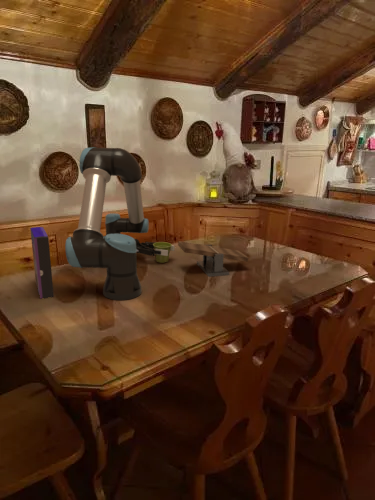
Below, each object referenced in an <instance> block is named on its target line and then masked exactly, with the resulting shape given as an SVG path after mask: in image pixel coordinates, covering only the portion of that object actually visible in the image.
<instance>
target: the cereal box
mask: <svg viewBox="0 0 375 500" xmlns="http://www.w3.org/2000/svg"><path fill="white" fill-rule="evenodd" d="M29 229H30V230H29V231H30V240H31V246H32V247H31V249H32V250H31V251H32V257H33V258H32V259H33V267H34V276H35V278H34V279H35V284H36V288H38V289H37V291H38V296H39V295H40V296H39V299H40V300H43V299H42V298H44V299H49V298H48V297H51V298H54V286H53V284H54V283H53V275H52V274H53V273H52V262H51V251H50V240H49V239H50V238H49V236H48V234H47V232H46V230H45V229H44V227H43V226H36V227H30V228H29Z"/></svg>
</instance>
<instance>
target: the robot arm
mask: <svg viewBox="0 0 375 500" xmlns="http://www.w3.org/2000/svg"><path fill="white" fill-rule="evenodd" d="M79 171H80V173H81V174H82V177H83V178H84V179H85V181H84V182H85V183H84V189H83V194H82V201H81V206H80V212H79V213H80V214H79V218H78V225H77V228H76V229H74V230H73V232H72V236H68V237H67V238H66V240H65V245H64V246H65V256H66V260H67V263H68V264H69V265H70V266H71V267H74V268H80V269H84V268H90V269H97V268H98V269H106V277H105V281H104V284H103V286H102V294H103V296H104V297H105V298H107V299H110V300H114V301H125V300H126V301H127V300H131V299H136V298H137V297H139V296H140V295H141V294H142V285H141V284H142V283H141V282H140V279H139V276H138V272H137V270H138V269H137V268H138V267H137V265H138V264H137V257H138V255H137V254H143V255H147V256H152V257H156V255H164V256H168V250H162V249H154V246H153V244H154V243H157V242H156V241H155V242H154V241H153V242H152V241H145V242H144V241H143V242H140V240H139V239H137V238H134V237H132V236H130V235H127V234H125V233H129V234H147V233H148V232H149V226H150V224H149V223H150V221H149V218H145V215H144V208H143V207H144V205H143V196H142V187H141V180H142V177H143V175H142V169H141V166H140V164H139V162H138V160H137V159H136V158H135V156H134V155H133V154H131V152H129V151H127V149H124V148H119V147H114V148H113V147H96V146H92V147H86V148H84V149H83V150H82V151H81V153H80V156H79ZM113 176H118V177H119V178H120V181H121V182H122V183H123V188H124V189H123V190H124V194H125V202H126V210H127V215H128V217H121V214H119V213H116V212H112V213H111V212H110V213H107V214H106V215H105V221H104V224H105V235H103V233H102V232H101V227H102V219H103V211H104V204H105V197H106V190H107V184H108V183H109V182H110V181H111V178H112V177H113ZM175 247H176V246H175V245H173V244H172V246H171V249H170V252H171V251H172V252H174V251H175ZM155 254H156V255H155Z"/></svg>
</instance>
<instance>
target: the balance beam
mask: <svg viewBox="0 0 375 500" xmlns="http://www.w3.org/2000/svg"><path fill="white" fill-rule="evenodd" d="M206 245H207V244H199V243H194V242H193V243H192V242H188V241H180V240H179V241H178V242H177V246H178V247H179V248H180V250H182V251H183V253H186V254H194V255H201V256H203V255H205V256H212V257H214V254H220V253H223V254H224V257H223V259H227V260H233V261H241V262H248V261H249V256H247V255H246V254H244V253H243V252H241V251H240V250H237V249H230V248H225V247H218V246H213V245H212V246H206Z"/></svg>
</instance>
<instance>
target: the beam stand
mask: <svg viewBox="0 0 375 500" xmlns="http://www.w3.org/2000/svg"><path fill="white" fill-rule="evenodd" d="M205 245H206V246H213V244H205ZM223 257H224V254H223V253H220V254H214V257H212V256H205V255H202V260H197V261H196V265H197V266H198V267H199V269H200V270H202V271H203V272H204V273H205V275H207V277H209V278H210V277H220V276H230V271H229V270H227V268H226V267H225V266H224V258H223Z"/></svg>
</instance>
